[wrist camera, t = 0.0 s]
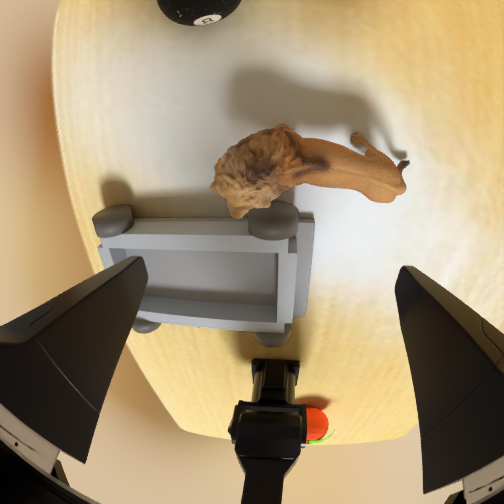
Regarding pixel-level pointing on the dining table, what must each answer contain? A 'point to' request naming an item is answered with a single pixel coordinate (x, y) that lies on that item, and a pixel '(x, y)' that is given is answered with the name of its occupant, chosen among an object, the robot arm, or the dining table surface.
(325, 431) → the clementine
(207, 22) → the billiard ball
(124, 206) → the chassis
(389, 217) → the dining table surface
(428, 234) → the dining table surface
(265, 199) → the lion figurine
